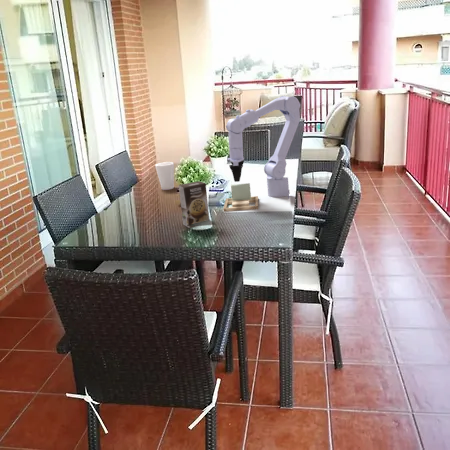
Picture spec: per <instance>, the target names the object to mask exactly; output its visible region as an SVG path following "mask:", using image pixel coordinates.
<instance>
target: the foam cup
mask: <svg viewBox="0 0 450 450" xmlns="http://www.w3.org/2000/svg"><path fill="white" fill-rule="evenodd" d="M154 168H155V170H156V173H157V177H158V180H159V184H160V188H161V190H163V191H168V190H172V189H174V187H175V181H174V180H175V173H174V172H175V170H174V169H175V164H174V162H173V161H164V162H159V163H156V164H155V167H154Z"/></svg>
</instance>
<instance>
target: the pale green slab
mask: <svg viewBox="0 0 450 450" xmlns="http://www.w3.org/2000/svg"><path fill="white" fill-rule="evenodd" d="M230 187H231V188H230V189H231V198H232V201H235V200H249V199H251V197H252V195H251V194H252V193H251V183H249V182H248V183H238V184H237V183H236V184H235V183H234V184H231V185H230Z"/></svg>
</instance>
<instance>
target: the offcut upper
mask: <svg viewBox="0 0 450 450" xmlns="http://www.w3.org/2000/svg"><path fill="white" fill-rule="evenodd" d="M249 205H250V203H249V201H239V202H232V204H231V207H244V206H249Z"/></svg>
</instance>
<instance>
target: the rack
mask: <svg viewBox="0 0 450 450" xmlns="http://www.w3.org/2000/svg"><path fill="white" fill-rule="evenodd" d="M239 201H249V204H250V203H251V204H252V203H255V204H254V205H252V206H244V207H232V206H229V207H228V205H232V202H239ZM222 209H223V212H233V211H236V212H237V211H249V210H258V209H259V196H258V195H257V196H256V195H255V196H251V199H249V200H235V201H232V197H230V198H225V201H224V204H223V207H222Z"/></svg>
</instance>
